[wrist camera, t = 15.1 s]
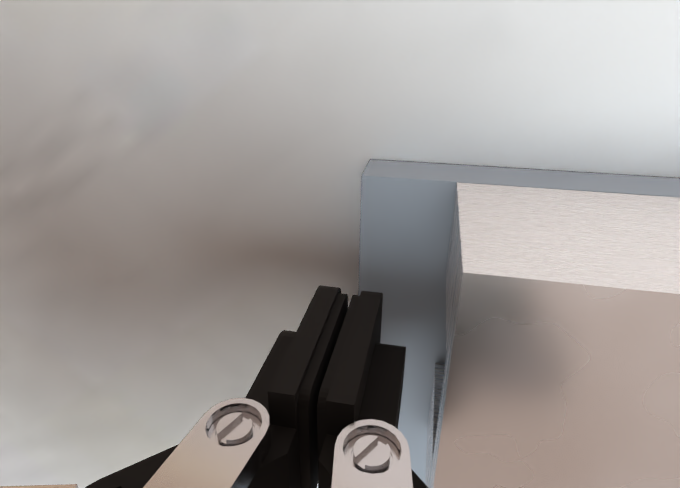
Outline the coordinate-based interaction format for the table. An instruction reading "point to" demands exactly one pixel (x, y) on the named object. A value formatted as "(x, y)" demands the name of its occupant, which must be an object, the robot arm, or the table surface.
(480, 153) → the table surface
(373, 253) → the assembly board
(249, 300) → the table surface
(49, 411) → the table surface
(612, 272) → the housing cover
